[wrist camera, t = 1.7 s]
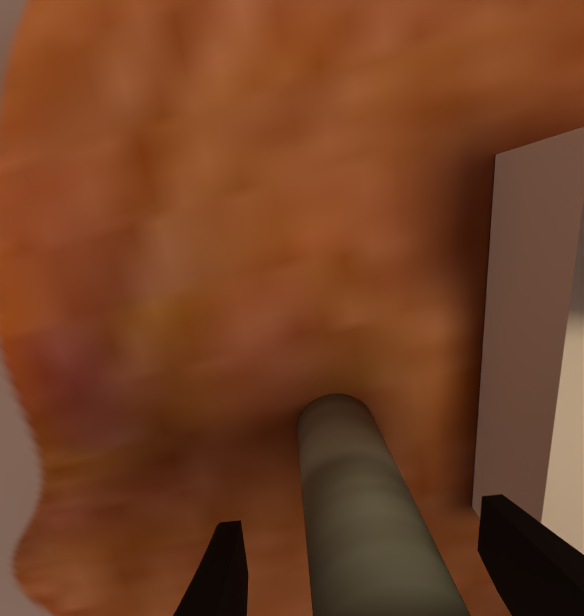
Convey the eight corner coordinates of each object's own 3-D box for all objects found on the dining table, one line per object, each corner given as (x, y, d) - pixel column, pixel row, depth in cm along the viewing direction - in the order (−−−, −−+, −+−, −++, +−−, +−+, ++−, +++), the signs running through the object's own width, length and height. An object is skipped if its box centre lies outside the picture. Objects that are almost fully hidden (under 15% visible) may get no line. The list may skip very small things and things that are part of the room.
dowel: (374, 459, 16) (470, 692, 8) (299, 466, 16) (321, 708, 8) (373, 390, 15) (479, 575, 7) (293, 397, 15) (311, 593, 7)
